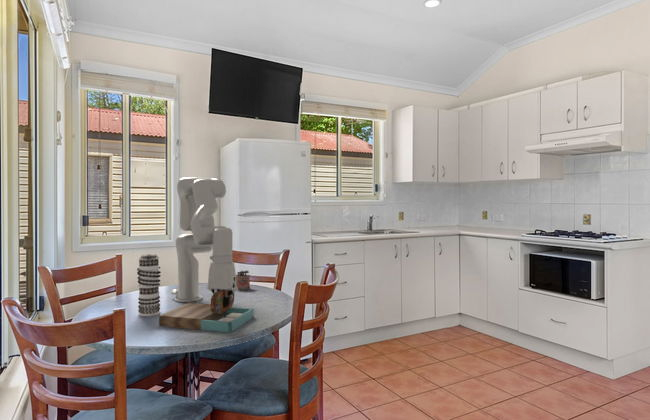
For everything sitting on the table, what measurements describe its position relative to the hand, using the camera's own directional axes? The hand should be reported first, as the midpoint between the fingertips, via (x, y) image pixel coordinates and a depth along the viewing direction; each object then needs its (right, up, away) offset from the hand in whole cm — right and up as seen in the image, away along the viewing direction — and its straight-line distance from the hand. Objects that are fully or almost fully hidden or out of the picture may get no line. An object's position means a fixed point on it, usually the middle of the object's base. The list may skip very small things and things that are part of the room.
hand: (222, 305), depth 160 cm
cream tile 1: (+3, -4, -4) cm, 7 cm away
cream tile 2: (+4, -4, +2) cm, 6 cm away
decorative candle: (-34, -6, +13) cm, 37 cm away
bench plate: (-12, -6, +3) cm, 14 cm away
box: (+3, -7, -1) cm, 7 cm away
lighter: (-4, -5, +61) cm, 61 cm away
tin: (0, -2, 0) cm, 2 cm away
